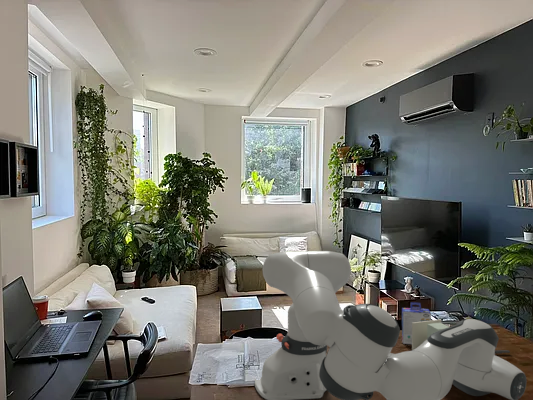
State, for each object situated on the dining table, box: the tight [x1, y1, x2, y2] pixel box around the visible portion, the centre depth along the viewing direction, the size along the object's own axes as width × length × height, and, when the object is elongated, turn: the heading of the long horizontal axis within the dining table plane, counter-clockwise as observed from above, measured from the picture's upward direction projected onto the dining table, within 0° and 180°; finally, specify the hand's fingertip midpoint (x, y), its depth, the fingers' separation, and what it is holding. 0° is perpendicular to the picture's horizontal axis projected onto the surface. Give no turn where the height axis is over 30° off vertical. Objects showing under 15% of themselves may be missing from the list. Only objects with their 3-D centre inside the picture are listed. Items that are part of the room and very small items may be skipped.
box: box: [427, 322, 450, 338], centre depth 124 cm, size 5×5×13 cm
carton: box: [411, 319, 442, 351], centre depth 123 cm, size 11×16×12 cm
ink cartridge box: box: [401, 301, 432, 345], centre depth 143 cm, size 10×6×14 cm, turn 77°
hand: (437, 341), depth 125 cm, fingers open, 8 cm apart
